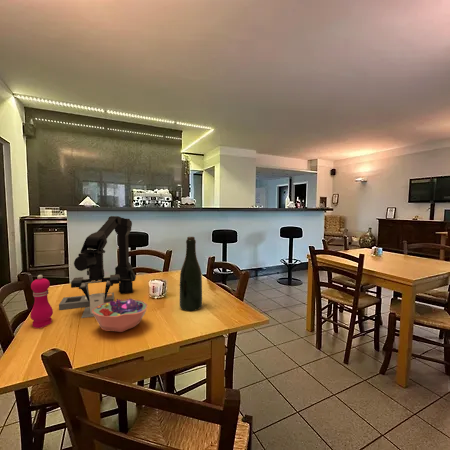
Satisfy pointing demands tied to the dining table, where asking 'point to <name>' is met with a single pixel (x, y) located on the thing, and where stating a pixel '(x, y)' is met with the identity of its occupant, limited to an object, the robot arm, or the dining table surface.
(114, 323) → the cell model
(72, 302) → the power strip
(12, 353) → the dining table surface
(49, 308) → the pepper mill
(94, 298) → the block
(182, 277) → the dark green wine bottle
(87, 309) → the mat
